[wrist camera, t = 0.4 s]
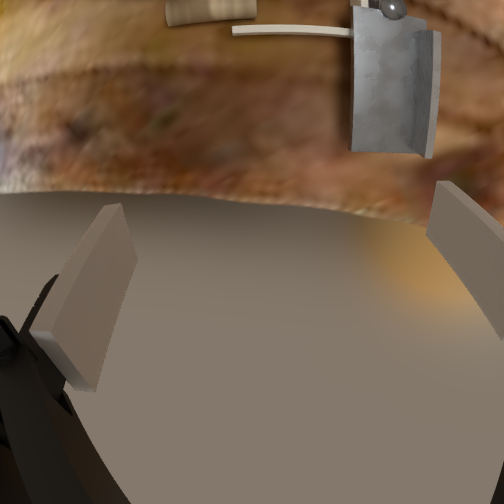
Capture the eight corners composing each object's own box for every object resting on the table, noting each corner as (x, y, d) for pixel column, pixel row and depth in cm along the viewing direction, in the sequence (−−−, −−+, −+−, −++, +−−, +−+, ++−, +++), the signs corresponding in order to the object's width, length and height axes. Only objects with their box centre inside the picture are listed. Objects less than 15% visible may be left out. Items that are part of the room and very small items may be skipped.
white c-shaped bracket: (229, -24, 24) (228, -33, 21) (380, -14, 24) (393, -19, 21) (232, 35, 28) (232, 33, 25) (382, 42, 28) (396, 42, 25)
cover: (348, 148, 32) (361, 160, 29) (348, -10, 22) (363, -17, 19) (414, 151, 32) (431, 162, 29) (420, 5, 22) (440, 3, 19)
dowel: (172, 24, 27) (167, 28, 25) (169, -1, 25) (163, 1, 23) (254, 16, 27) (256, 19, 25) (253, -9, 25) (255, -9, 23)
